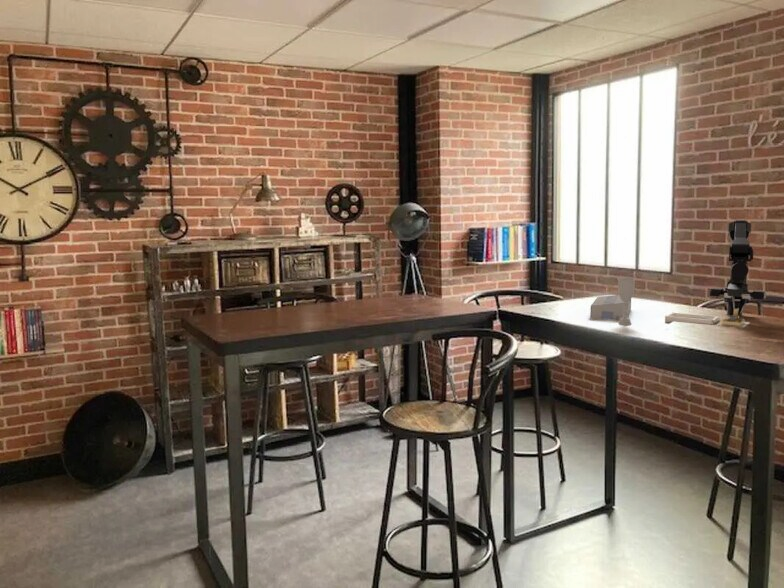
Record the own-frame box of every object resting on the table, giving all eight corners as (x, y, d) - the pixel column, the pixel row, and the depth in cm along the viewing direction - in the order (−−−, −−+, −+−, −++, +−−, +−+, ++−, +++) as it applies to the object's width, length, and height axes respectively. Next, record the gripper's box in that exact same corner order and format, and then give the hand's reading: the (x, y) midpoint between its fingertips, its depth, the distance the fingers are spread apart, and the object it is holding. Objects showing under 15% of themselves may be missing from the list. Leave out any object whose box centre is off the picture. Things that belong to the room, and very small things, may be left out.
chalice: (621, 325, 254) (623, 279, 251) (611, 323, 260) (613, 278, 258) (638, 324, 256) (640, 279, 253) (627, 322, 262) (629, 277, 260)
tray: (672, 318, 270) (672, 312, 269) (719, 322, 259) (719, 316, 259) (664, 322, 261) (665, 316, 260) (713, 326, 250) (713, 320, 250)
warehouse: (597, 308, 299) (597, 292, 299) (630, 310, 294) (631, 293, 293) (590, 319, 272) (590, 301, 271) (626, 321, 267) (627, 302, 266)
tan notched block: (745, 321, 254) (746, 309, 254) (740, 325, 244) (740, 313, 244) (727, 319, 258) (728, 307, 257) (721, 324, 248) (721, 311, 247)
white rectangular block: (722, 322, 259) (723, 312, 259) (749, 325, 253) (750, 314, 253) (716, 327, 249) (716, 317, 248) (744, 330, 243) (744, 319, 243)
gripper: (707, 276, 252) (705, 316, 254) (763, 278, 241) (760, 320, 243) (713, 273, 261) (711, 312, 263) (767, 276, 250) (764, 316, 252)
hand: (736, 315), depth 255 cm, fingers closed on tan notched block
